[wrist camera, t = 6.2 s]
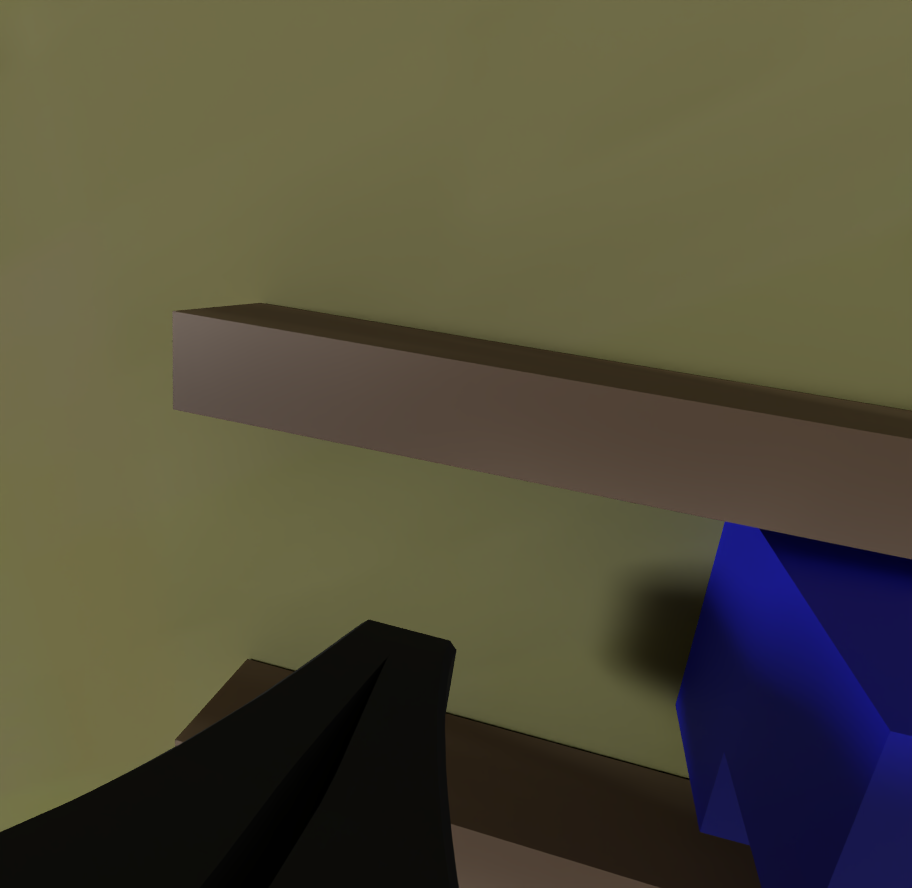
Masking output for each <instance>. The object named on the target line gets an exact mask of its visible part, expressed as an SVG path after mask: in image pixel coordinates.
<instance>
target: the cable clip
mask: <svg viewBox="0 0 912 888" xmlns="http://www.w3.org/2000/svg"><path fill="white" fill-rule="evenodd" d="M676 710H677V715H678V720H679V726H680V731H681V736H682V741H683V747H684V752H685V757H686V762H687V768H688V773H689V778H690V783H691V789H692V794H693V799H694V804H695V810H696V815H697V820H698V825H699V831H700V832H702V833H706V834H709V835H713V836H717V837H720V838H724V839H728V840H731V841H735V842H739V843H743V844H746V845H750V847H751V851H752V855H753V858H754V862H755V866H756V869H757V873H758V877H759V880H760V884H761V888H912V559H908V558H903V557H898V556H893V555H888V554H883V553H878V552H873V551H868V550H863V549H858V548H853V547H848V546H844V545H839V544H834V543H829V542H824V541H819V540H814V539H809V538H804V537H799V536H794V535H789V534H785V533H780V532H775V531H770V530H765V529H760V528H755V527H750V526H745V525H740V524H735V523H730V522H726V521H725V523H724V527H723V531H722V535H721V538H720V542H719V546H718V549H717V553H716V557H715V561H714V564H713V568H712V572H711V576H710V579H709V583H708V587H707V590H706V594H705V598H704V602H703V605H702V609H701V613H700V616H699V620H698V624H697V628H696V631H695V635H694V639H693V642H692V646H691V650H690V654H689V657H688V661H687V665H686V668H685V672H684V676H683V680H682V683H681V687H680V691H679V694H678V698H677V702H676Z"/></svg>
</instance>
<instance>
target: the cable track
mask: <svg viewBox="0 0 912 888" xmlns="http://www.w3.org/2000/svg"><path fill="white" fill-rule="evenodd" d="M173 409H174V410H179V411H184V412H189V413H194V414H199V415H204V416H209V417H214V418H219V419H224V420H229V421H234V422H238V423H243V424H248V425H253V426H258V427H263V428H268V429H273V430H278V431H283V432H288V433H293V434H297V435H302V436H307V437H312V438H317V439H322V440H327V441H332V442H337V443H342V444H347V445H352V446H357V447H361V448H366V449H371V450H376V451H381V452H386V453H391V454H396V455H401V456H406V457H411V458H416V459H420V460H425V461H430V462H435V463H440V464H445V465H450V466H455V467H460V468H465V469H470V470H475V471H480V472H484V473H489V474H494V475H499V476H504V477H509V478H514V479H519V480H524V481H529V482H534V483H539V484H543V485H548V486H553V487H558V488H563V489H568V490H573V491H578V492H583V493H588V494H593V495H598V496H603V497H607V498H612V499H617V500H622V501H627V502H632V503H637V504H642V505H647V506H652V507H657V508H662V509H666V510H671V511H676V512H681V513H686V514H691V515H696V516H701V517H706V518H711V519H716V520H721V521H726V522H730V523H735V524H740V525H745V526H750V527H755V528H760V529H765V530H770V531H775V532H780V533H785V534H789V535H794V536H799V537H804V538H809V539H814V540H819V541H824V542H829V543H834V544H839V545H844V546H848V547H853V548H858V549H863V550H868V551H873V552H878V553H883V554H888V555H893V556H898V557H903V558H908V559H912V411H909V410H903V409H897V408H891V407H885V406H879V405H873V404H867V403H861V402H855V401H848V400H842V399H836V398H830V397H824V396H818V395H812V394H806V393H800V392H794V391H788V390H782V389H776V388H770V387H764V386H758V385H752V384H746V383H740V382H734V381H728V380H722V379H716V378H710V377H704V376H698V375H692V374H686V373H680V372H674V371H668V370H662V369H656V368H650V367H644V366H638V365H632V364H626V363H619V362H613V361H607V360H601V359H595V358H589V357H583V356H577V355H571V354H565V353H559V352H553V351H547V350H541V349H535V348H529V347H523V346H517V345H511V344H505V343H499V342H493V341H487V340H481V339H475V338H469V337H463V336H457V335H451V334H445V333H439V332H433V331H427V330H421V329H415V328H409V327H403V326H397V325H390V324H384V323H378V322H372V321H366V320H360V319H354V318H348V317H342V316H336V315H330V314H324V313H318V312H312V311H306V310H300V309H294V308H288V307H282V306H276V305H270V304H264V303H255V304H244V305H233V306H223V307H212V308H201V309H191V310H180V311H173ZM292 673H293V671H289V670H286V669H282V668H278V667H275V666H271V665H267V664H264V663H260V662H257V661H253V660H249V659H247V660H246V661H245V662H244V663H243V664H242V666H241V667H240V668H239V669H238V670H237V671H236V672H235V673H234V675H233V676H232V677H231V678H230V679H229V680H228V681H227V682H226V683H225V685H224V686H223V687H222V688H221V689H220V690H219V691H218V692H217V694H216V695H215V696H214V697H213V698H212V699H211V700H210V701H209V702H208V704H207V705H206V706H205V707H204V708H203V709H202V710H201V711H200V713H199V714H198V715H197V716H196V717H195V718H194V719H193V720H192V721H191V723H190V724H189V725H188V726H187V727H186V728H185V729H184V730H183V732H182V733H181V734H180V735H179V736H178V737H177V738H176V739H175V747H176V746H177V745H179V744H181V743H183V742H184V741H186V740H188V739H189V738H191V737H193V736H194V735H196V734H198V733H199V732H201V731H203V730H204V729H206V728H207V727H209V726H211V725H212V724H214V723H216V722H217V721H219V720H221V719H222V718H224V717H226V716H227V715H229V714H231V713H232V712H234V711H236V710H237V709H239V708H240V707H242V706H244V705H245V704H247V703H248V702H250V701H251V700H253V699H254V698H256V697H257V696H259V695H260V694H262V693H263V692H265V691H266V690H268V689H269V688H271V687H272V686H274V685H275V684H277V683H278V682H280V681H281V680H283V679H284V678H286V677H287V676H289V675H290V674H292ZM445 741H446V772H447V787H448V800H449V810H450V820H451V830H452V839H453V847H454V855H455V863H456V870H457V877H458V884H459V888H761V884H760V880H759V877H758V873H757V869H756V866H755V862H754V858H753V855H752V851H751V847H750V845H746V844H743V843H739V842H735V841H731V840H728V839H724V838H720V837H717V836H713V835H709V834H706V833H702V832H700V831H699V825H698V820H697V815H696V810H695V804H694V799H693V794H692V789H691V783H690V780H687V779H683V778H680V777H676V776H672V775H669V774H665V773H661V772H658V771H654V770H650V769H647V768H643V767H640V766H636V765H632V764H629V763H625V762H621V761H618V760H614V759H610V758H607V757H603V756H599V755H596V754H592V753H588V752H585V751H581V750H578V749H574V748H570V747H567V746H563V745H559V744H556V743H552V742H548V741H545V740H541V739H537V738H534V737H530V736H526V735H523V734H519V733H516V732H512V731H508V730H505V729H501V728H497V727H494V726H490V725H486V724H483V723H479V722H475V721H472V720H468V719H464V718H461V717H457V716H454V715H450V714H445Z"/></svg>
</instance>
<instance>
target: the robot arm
mask: <svg viewBox="0 0 912 888" xmlns="http://www.w3.org/2000/svg"><path fill="white" fill-rule="evenodd" d="M455 655H456V649H455V647H454V646H453V644H452V643H451V641H449V640H445V639H441V638H437V637H434V636H430V635H426V634H422V633H418V632H414V631H411V630H407V629H403V628H399V627H395V626H391V625H388V624H384V623H380V622H376V621H372V620H367V621H365V622H364V623H362V624H360V625H359V626H357V627H356V628H355V629H353V630H352V631H350V632H349V633H348V634H346V635H345V636H344V637H342V638H341V639H339V640H338V641H337V642H335V643H334V644H333V645H331V646H330V647H328V648H327V649H326V650H324V651H323V652H322V653H320V654H319V655H317V656H316V657H314V658H313V659H312V660H310V661H309V662H307V663H306V664H305V665H303V666H302V667H300V668H299V669H298V670H296V671H295V672H293V673H292V674H290V675H289V676H287V677H286V678H284V679H283V680H281V681H280V682H278V683H277V684H275V685H274V686H272V687H271V688H269V689H268V690H266V691H265V692H263V693H262V694H260V695H259V696H257V697H256V698H254V699H253V700H251V701H250V702H248V703H247V704H245V705H244V706H242V707H240V708H239V709H237V710H236V711H234V712H232V713H231V714H229V715H227V716H226V717H224V718H222V719H221V720H219V721H217V722H216V723H214V724H212V725H211V726H209V727H207V728H206V729H204V730H203V731H201V732H199V733H198V734H196V735H194V736H193V737H191V738H189V739H188V740H186V741H184V742H183V743H181V744H179V745H177V746H176V747H174V748H172V749H170V750H168V751H167V752H165V753H163V754H161V755H159V756H158V757H156V758H154V759H152V760H150V761H149V762H147V763H145V764H143V765H141V766H139V767H137V768H136V769H134V770H132V771H130V772H128V773H126V774H124V775H122V776H120V777H118V778H116V779H114V780H112V781H110V782H108V783H106V784H104V785H102V786H100V787H98V788H97V789H95V790H93V791H91V792H89V793H86V794H84V795H82V796H80V797H78V798H76V799H74V800H72V801H70V802H68V803H65V804H63V805H61V806H59V807H56V808H54V809H52V810H50V811H47V812H45V813H43V814H40V815H38V816H36V817H34V818H31V819H29V820H27V821H24V822H22V823H20V824H18V825H15V826H13V827H11V828H9V829H6V830H4V831H2V832H0V888H459V884H458V877H457V870H456V863H455V855H454V847H453V839H452V830H451V820H450V810H449V800H448V787H447V772H446V741H445V714H446V708H447V702H448V696H449V690H450V685H451V679H452V673H453V667H454V661H455Z"/></svg>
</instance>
